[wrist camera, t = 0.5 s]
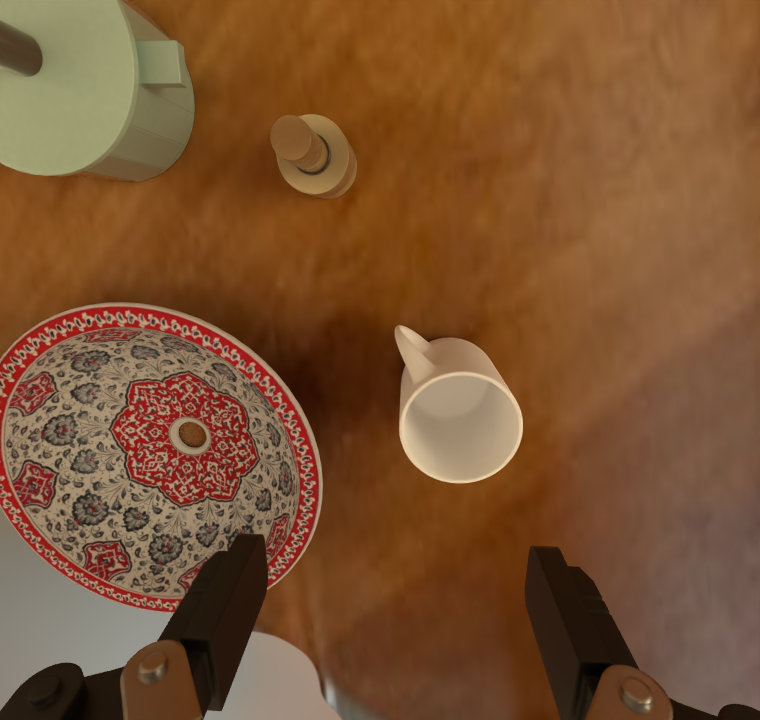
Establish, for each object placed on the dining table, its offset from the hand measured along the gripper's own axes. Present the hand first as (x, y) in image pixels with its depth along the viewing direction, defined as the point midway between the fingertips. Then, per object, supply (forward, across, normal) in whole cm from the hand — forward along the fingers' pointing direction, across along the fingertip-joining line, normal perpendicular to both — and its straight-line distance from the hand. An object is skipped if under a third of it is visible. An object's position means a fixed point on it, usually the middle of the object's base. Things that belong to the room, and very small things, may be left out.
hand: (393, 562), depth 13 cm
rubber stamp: (+28, +7, -14) cm, 32 cm away
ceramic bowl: (+28, +21, +10) cm, 36 cm away
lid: (+20, +24, -20) cm, 36 cm away
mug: (+28, -3, +3) cm, 28 cm away
